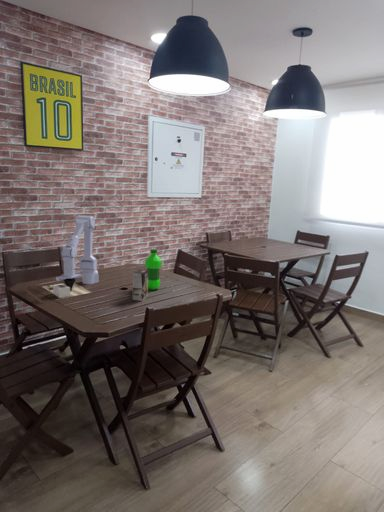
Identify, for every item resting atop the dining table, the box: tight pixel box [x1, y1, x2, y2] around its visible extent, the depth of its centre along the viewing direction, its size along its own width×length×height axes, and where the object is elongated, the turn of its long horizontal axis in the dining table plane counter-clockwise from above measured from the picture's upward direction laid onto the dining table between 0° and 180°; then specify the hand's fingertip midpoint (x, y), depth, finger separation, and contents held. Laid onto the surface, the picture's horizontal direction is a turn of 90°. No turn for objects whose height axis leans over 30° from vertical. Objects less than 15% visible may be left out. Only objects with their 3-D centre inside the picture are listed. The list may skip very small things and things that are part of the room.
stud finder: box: [52, 283, 70, 299], centre depth 205 cm, size 6×9×6 cm, turn 43°
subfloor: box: [42, 282, 93, 299], centre depth 216 cm, size 19×26×1 cm
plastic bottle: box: [144, 248, 162, 291], centre depth 228 cm, size 10×10×25 cm
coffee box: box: [132, 268, 149, 302], centre depth 210 cm, size 9×6×16 cm
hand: (69, 291), depth 209 cm, fingers closed
